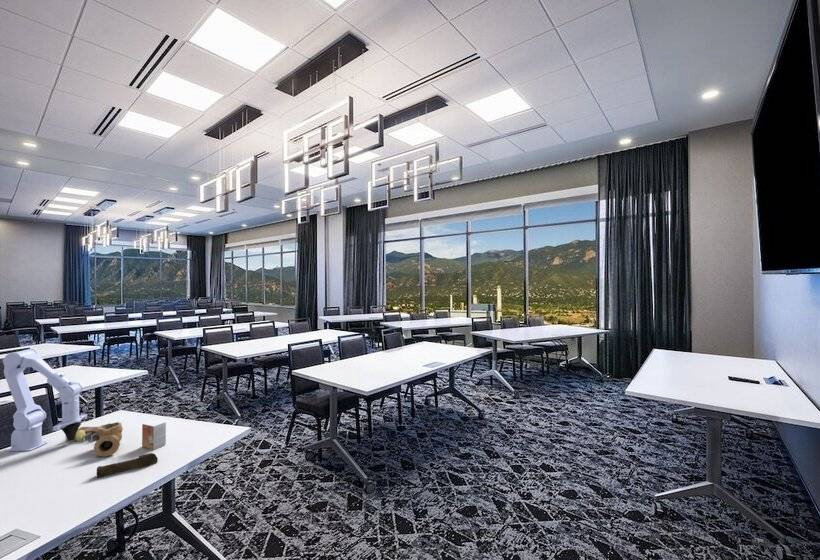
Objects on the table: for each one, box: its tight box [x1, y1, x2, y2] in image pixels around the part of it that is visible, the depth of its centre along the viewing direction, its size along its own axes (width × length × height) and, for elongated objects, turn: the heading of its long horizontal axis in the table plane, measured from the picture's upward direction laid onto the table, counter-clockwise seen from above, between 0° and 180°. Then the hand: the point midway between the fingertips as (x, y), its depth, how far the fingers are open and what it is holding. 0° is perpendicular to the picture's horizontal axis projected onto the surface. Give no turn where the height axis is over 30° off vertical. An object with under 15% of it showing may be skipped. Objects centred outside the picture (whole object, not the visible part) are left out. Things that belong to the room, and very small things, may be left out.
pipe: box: [93, 421, 124, 457], centre depth 159 cm, size 9×16×10 cm, turn 35°
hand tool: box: [96, 452, 159, 479], centre depth 142 cm, size 19×4×5 cm, turn 121°
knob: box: [71, 430, 86, 442], centre depth 168 cm, size 5×5×5 cm
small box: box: [141, 419, 167, 451], centre depth 162 cm, size 8×6×10 cm
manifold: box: [64, 426, 100, 443], centre depth 171 cm, size 18×9×4 cm, turn 90°
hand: (71, 440), depth 165 cm, fingers closed
